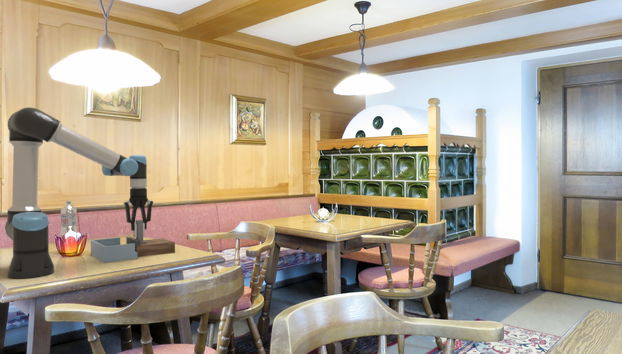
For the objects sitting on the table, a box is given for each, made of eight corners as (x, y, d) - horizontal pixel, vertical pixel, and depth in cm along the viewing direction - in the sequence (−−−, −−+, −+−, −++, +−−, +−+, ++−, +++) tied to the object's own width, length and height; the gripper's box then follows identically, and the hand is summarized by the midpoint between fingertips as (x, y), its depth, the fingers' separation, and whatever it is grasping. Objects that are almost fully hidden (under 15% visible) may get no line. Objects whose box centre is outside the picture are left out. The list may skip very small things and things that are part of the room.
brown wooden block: (175, 252, 215) (174, 242, 215) (136, 257, 204) (136, 246, 204) (163, 248, 228) (163, 238, 228) (126, 252, 216) (126, 242, 216)
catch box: (137, 258, 200) (137, 243, 200) (103, 263, 192) (103, 246, 191) (121, 251, 219) (121, 237, 219) (90, 254, 210) (90, 240, 210)
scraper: (149, 244, 208) (148, 221, 208) (136, 246, 204) (135, 222, 204) (139, 240, 220) (138, 218, 219) (126, 242, 216) (126, 219, 216)
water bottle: (59, 253, 215) (58, 201, 215) (74, 251, 220) (73, 200, 220) (64, 254, 211) (63, 202, 210) (79, 252, 216) (78, 201, 215)
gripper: (152, 187, 220) (153, 234, 220) (118, 188, 210) (119, 237, 210) (158, 187, 214) (158, 236, 214) (122, 188, 204) (123, 239, 204)
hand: (139, 236), depth 212 cm, fingers open, 3 cm apart
